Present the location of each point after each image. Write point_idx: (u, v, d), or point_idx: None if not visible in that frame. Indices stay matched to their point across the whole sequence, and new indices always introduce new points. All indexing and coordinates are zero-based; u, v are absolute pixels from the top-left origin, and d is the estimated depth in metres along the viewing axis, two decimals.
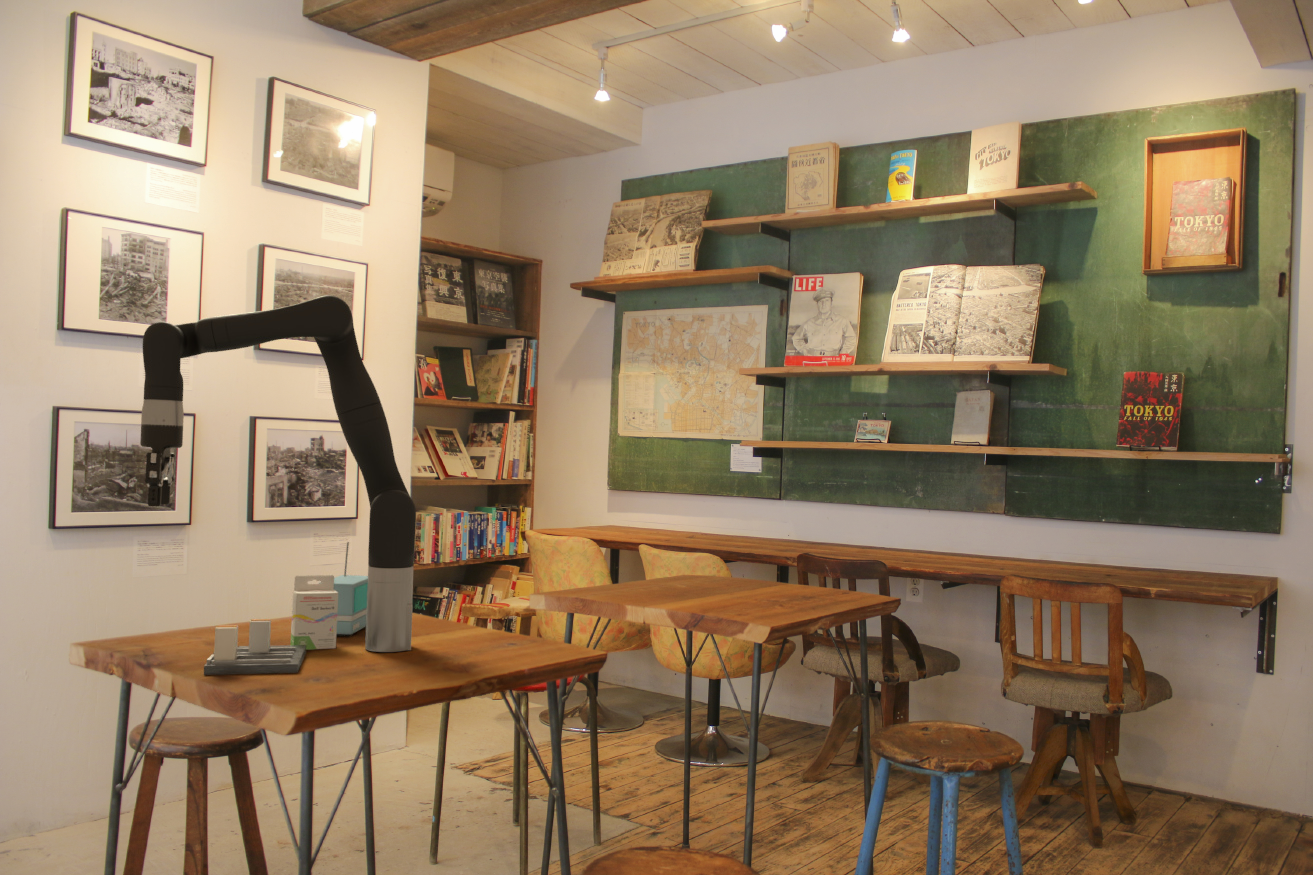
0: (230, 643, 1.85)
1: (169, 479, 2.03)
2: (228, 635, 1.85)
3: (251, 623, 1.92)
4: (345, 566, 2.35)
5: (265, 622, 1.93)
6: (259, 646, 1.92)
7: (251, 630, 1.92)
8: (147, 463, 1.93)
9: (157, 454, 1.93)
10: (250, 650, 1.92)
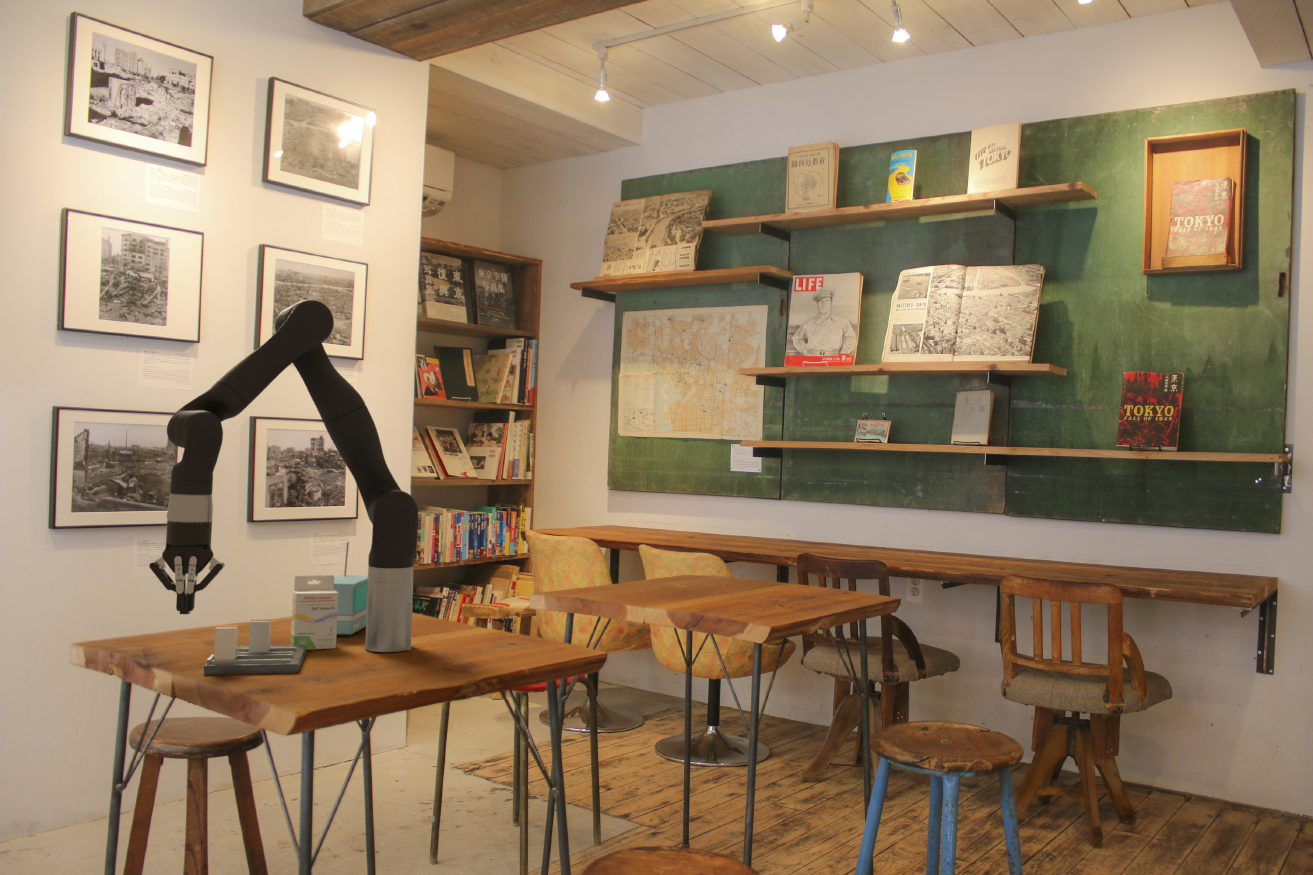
0: (230, 643, 1.85)
1: None
2: (228, 635, 1.85)
3: (251, 623, 1.92)
4: (345, 566, 2.35)
5: (265, 622, 1.93)
6: (259, 646, 1.92)
7: (251, 630, 1.92)
8: (215, 575, 1.85)
9: (223, 566, 1.87)
10: (250, 650, 1.92)
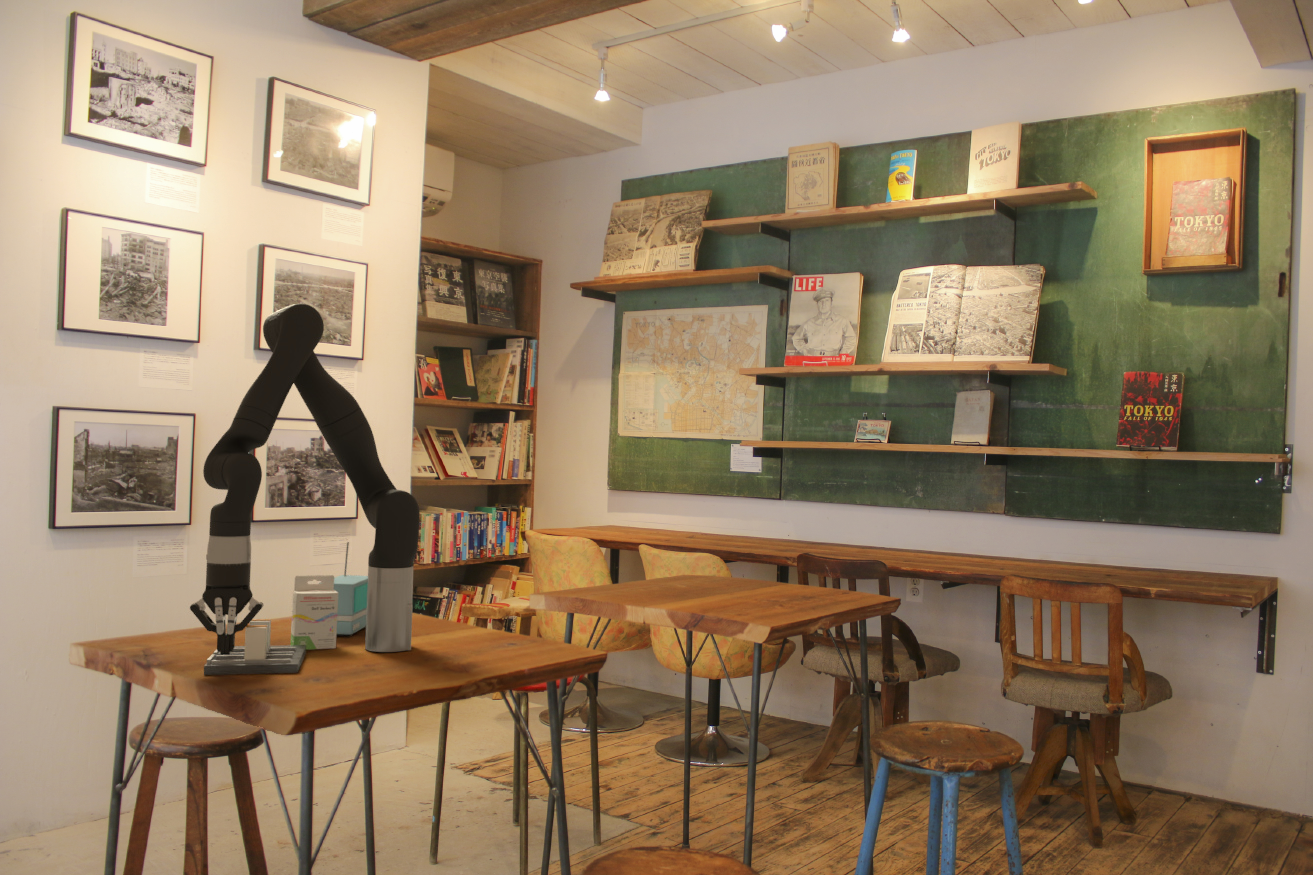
0: (260, 642, 1.86)
1: None
2: (258, 635, 1.86)
3: (251, 623, 1.92)
4: (345, 566, 2.35)
5: (265, 622, 1.93)
6: None
7: None
8: None
9: None
10: None
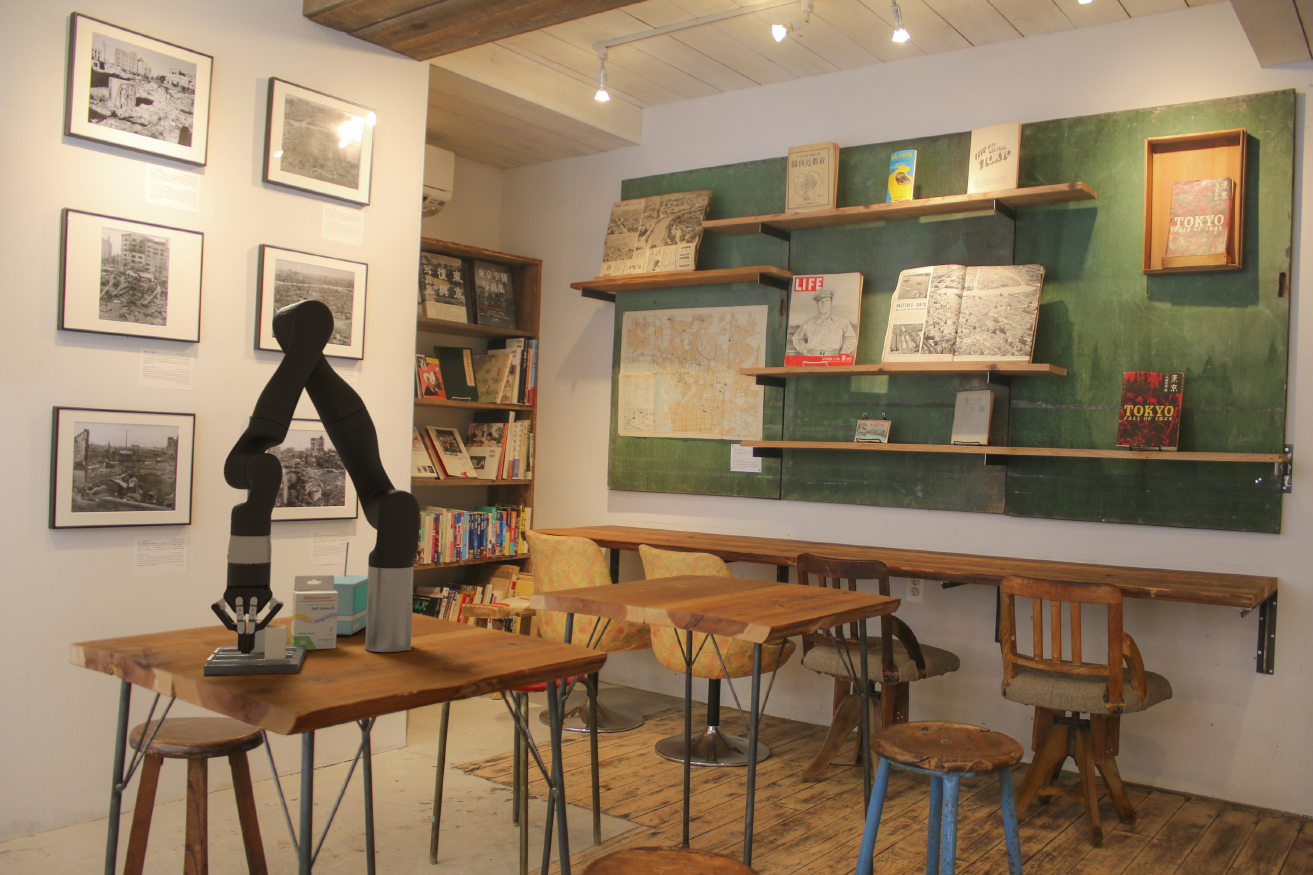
0: (280, 642, 1.87)
1: None
2: (278, 635, 1.87)
3: None
4: (345, 566, 2.35)
5: None
6: (259, 646, 1.92)
7: None
8: (275, 614, 1.87)
9: None
10: None
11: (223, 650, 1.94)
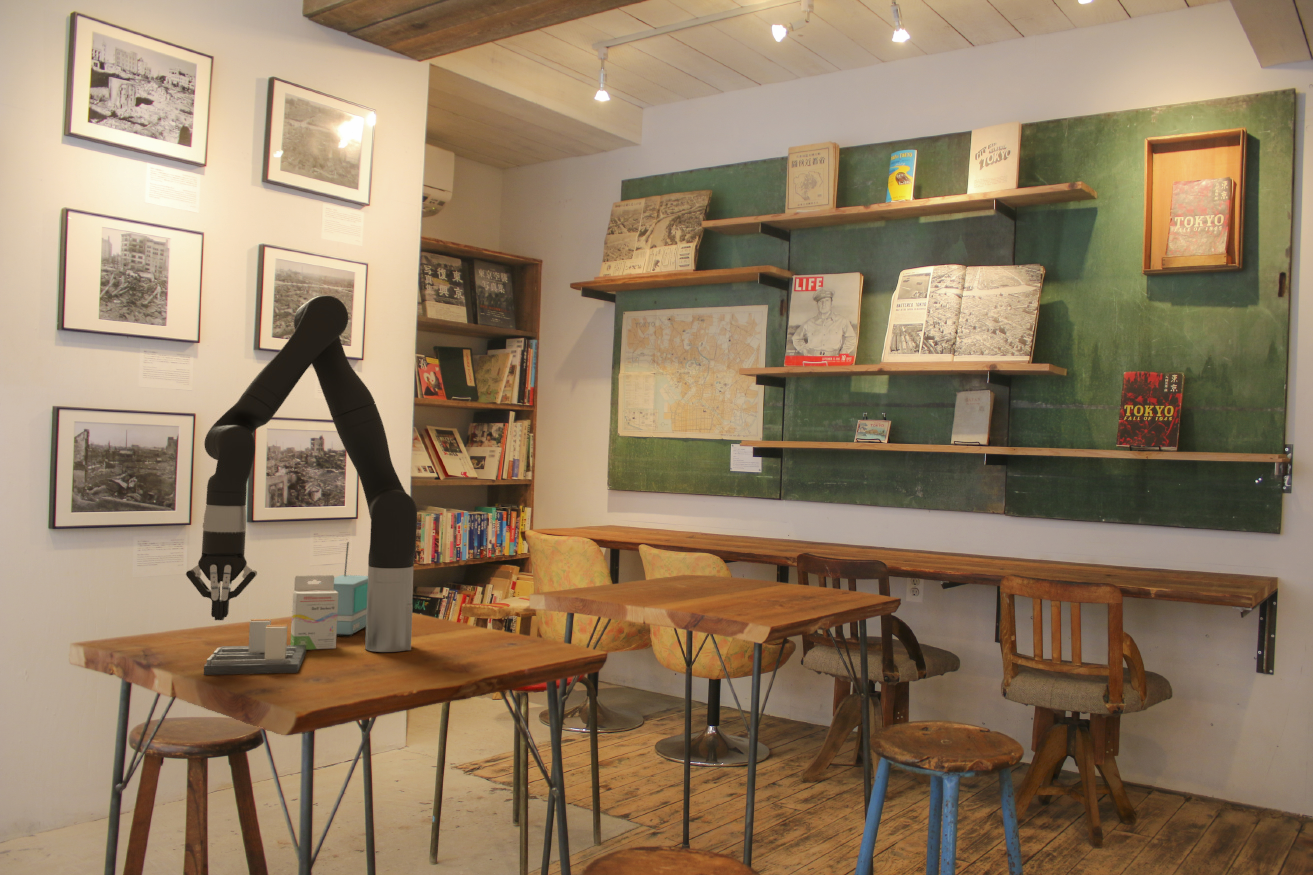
0: (280, 642, 1.87)
1: None
2: (278, 635, 1.87)
3: (251, 623, 1.92)
4: (345, 566, 2.35)
5: (265, 622, 1.93)
6: (259, 646, 1.92)
7: (251, 630, 1.92)
8: (249, 582, 1.93)
9: (256, 574, 1.95)
10: (250, 650, 1.92)
11: (223, 650, 1.94)
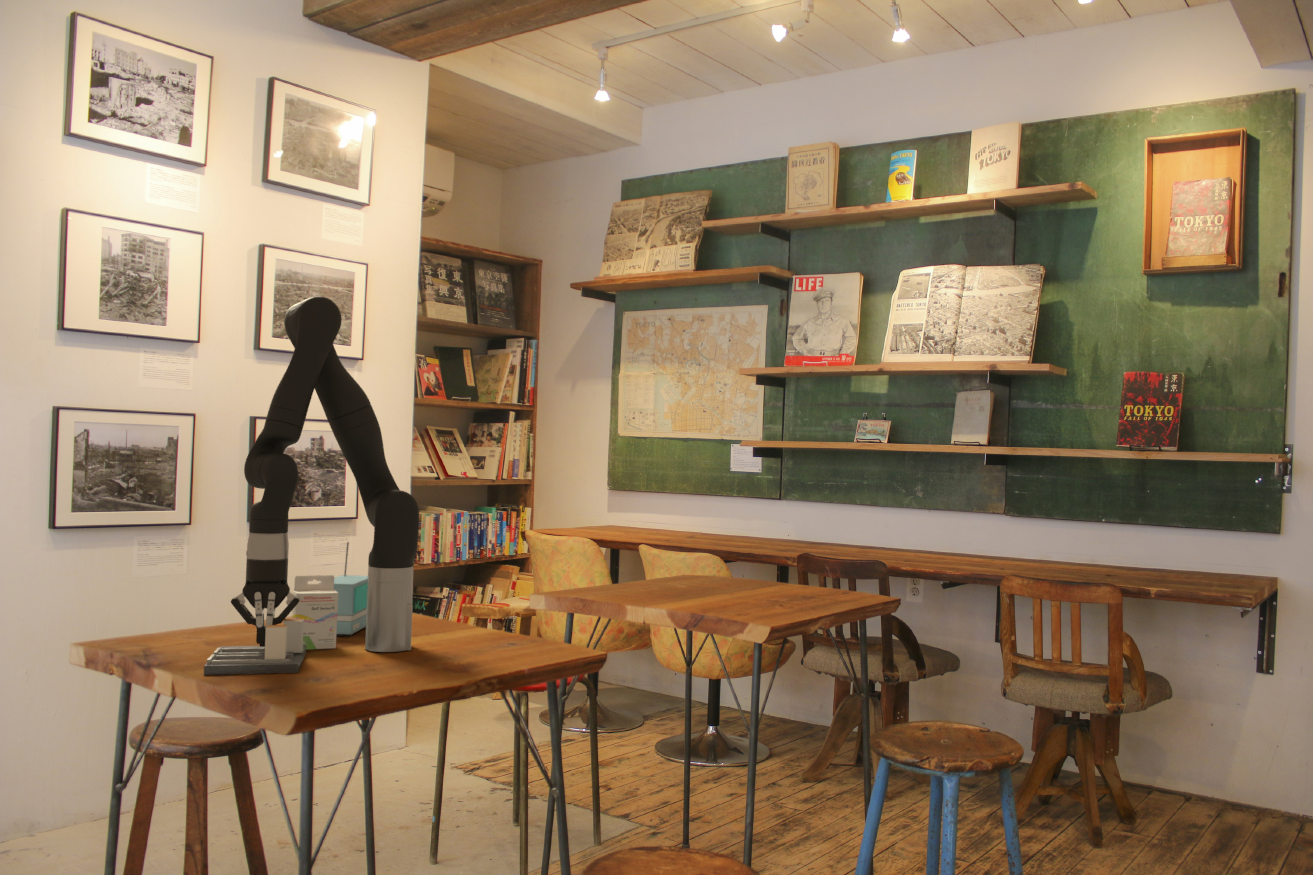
0: (280, 642, 1.87)
1: None
2: (278, 635, 1.87)
3: (285, 623, 1.94)
4: (345, 566, 2.35)
5: (298, 622, 1.94)
6: (293, 645, 1.94)
7: None
8: None
9: (299, 600, 1.97)
10: None
11: (223, 650, 1.94)
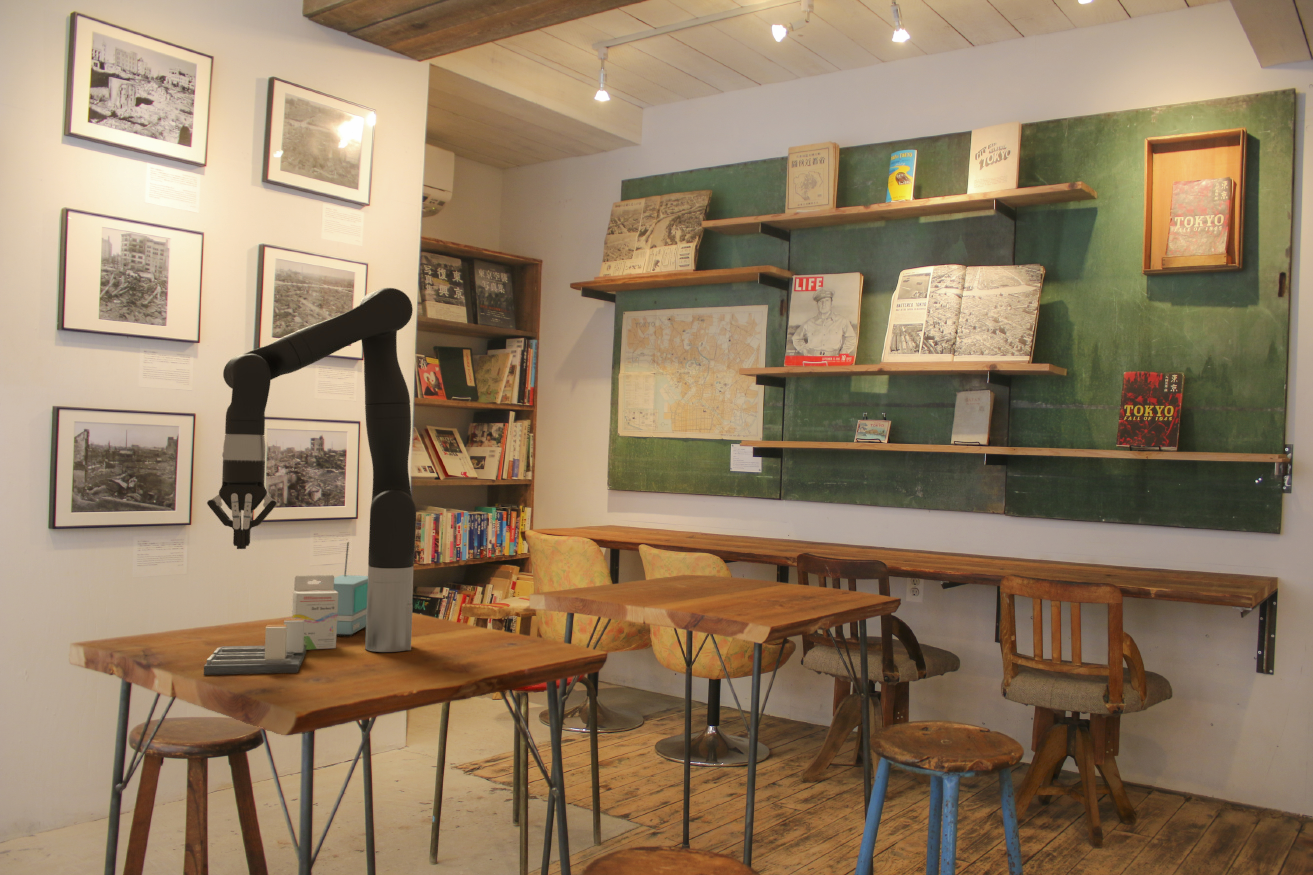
0: (280, 642, 1.87)
1: None
2: (278, 635, 1.87)
3: (285, 623, 1.94)
4: (345, 566, 2.35)
5: (299, 622, 1.94)
6: (293, 645, 1.94)
7: None
8: (270, 511, 1.94)
9: (276, 503, 1.96)
10: None
11: (223, 650, 1.94)
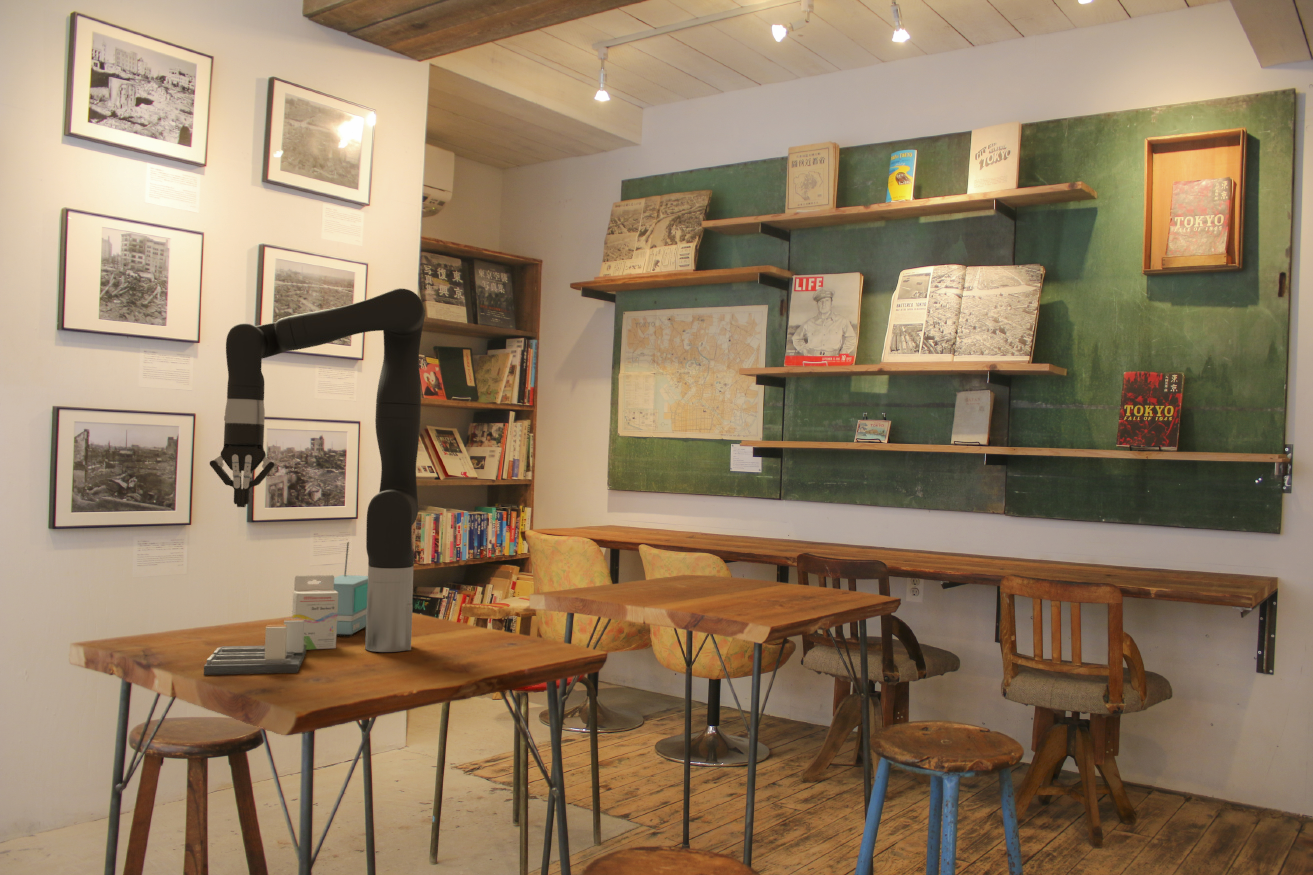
0: (280, 642, 1.87)
1: None
2: (278, 635, 1.87)
3: (285, 623, 1.94)
4: (345, 566, 2.35)
5: (299, 622, 1.94)
6: (293, 645, 1.94)
7: None
8: (268, 472, 2.06)
9: (275, 465, 2.08)
10: None
11: (223, 650, 1.94)
